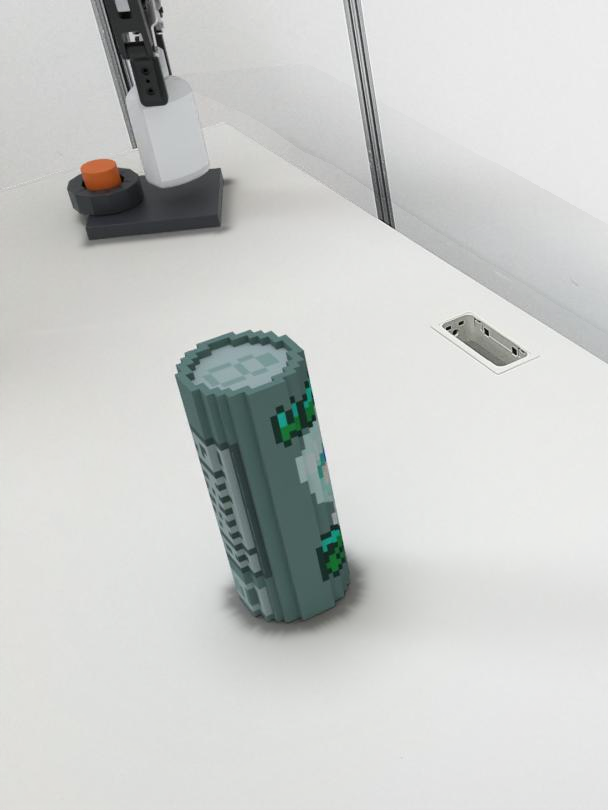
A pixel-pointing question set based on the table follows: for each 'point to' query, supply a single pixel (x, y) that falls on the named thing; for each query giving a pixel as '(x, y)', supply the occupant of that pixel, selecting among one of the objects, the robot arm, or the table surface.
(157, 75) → the robot arm
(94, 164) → the button
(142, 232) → the dark grey base plate
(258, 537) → the can
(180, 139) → the eye dropper bottle
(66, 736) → the table surface
